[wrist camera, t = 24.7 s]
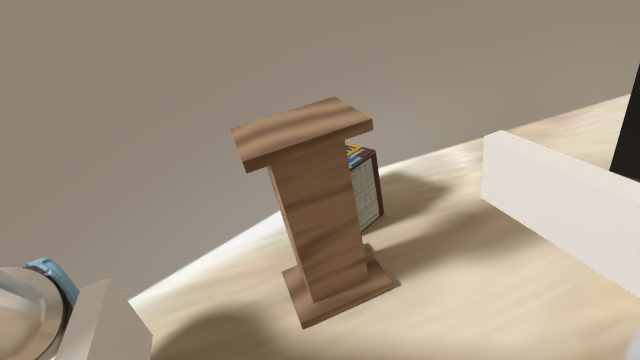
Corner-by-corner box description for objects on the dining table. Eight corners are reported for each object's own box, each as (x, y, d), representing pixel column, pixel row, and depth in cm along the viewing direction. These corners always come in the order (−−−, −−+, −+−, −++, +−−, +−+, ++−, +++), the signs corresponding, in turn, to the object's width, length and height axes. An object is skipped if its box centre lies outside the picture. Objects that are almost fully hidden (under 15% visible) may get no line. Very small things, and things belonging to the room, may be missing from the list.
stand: (393, 288, 55) (372, 118, 40) (302, 329, 52) (242, 161, 37) (361, 245, 65) (334, 96, 50) (283, 277, 62) (230, 129, 47)
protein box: (334, 192, 83) (322, 136, 75) (384, 213, 72) (377, 149, 64) (303, 215, 78) (287, 156, 70) (352, 240, 67) (339, 175, 59)
